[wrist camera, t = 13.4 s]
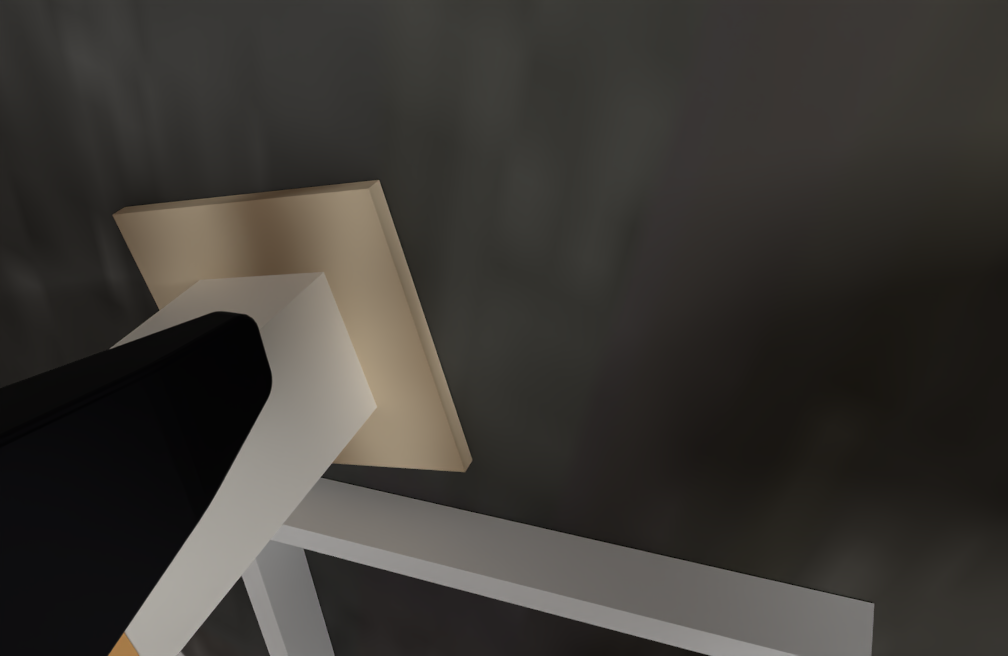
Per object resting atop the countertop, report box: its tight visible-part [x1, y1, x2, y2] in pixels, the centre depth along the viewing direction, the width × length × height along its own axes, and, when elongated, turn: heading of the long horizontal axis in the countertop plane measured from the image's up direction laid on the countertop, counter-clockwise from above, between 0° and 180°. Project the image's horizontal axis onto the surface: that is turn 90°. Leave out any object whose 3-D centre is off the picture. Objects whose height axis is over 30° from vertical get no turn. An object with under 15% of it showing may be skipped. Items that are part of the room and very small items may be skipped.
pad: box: [113, 180, 472, 472], centre depth 29 cm, size 10×10×1 cm
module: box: [108, 272, 377, 656], centre depth 23 cm, size 5×5×13 cm
